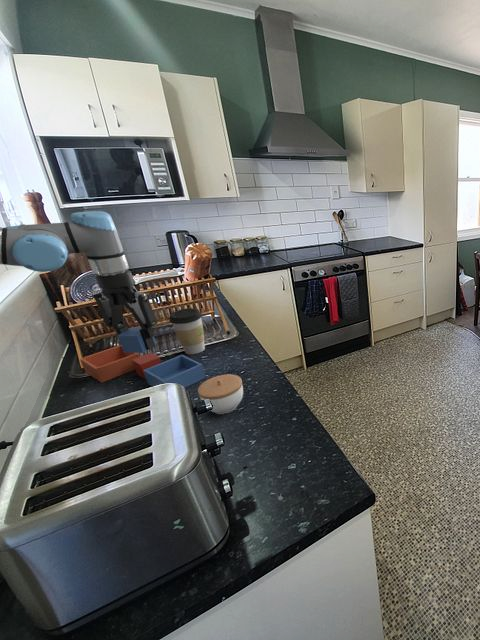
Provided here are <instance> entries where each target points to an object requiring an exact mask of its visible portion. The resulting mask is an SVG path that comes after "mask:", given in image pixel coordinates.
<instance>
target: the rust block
mask: <svg viewBox="0 0 480 640" xmlns="http://www.w3.org/2000/svg"><path fill="white" fill-rule="evenodd" d="M139 356H140V357H138V358H135V359H132V362H133V365H134V368H135V370H134V371H135V373H136V375H138V376H139V377H141V378H142V379H144V380H146V377H145V374H144V372H143V370H146V369H148V368H150V367H153V366H155V365H158V364H160V363H162V360H161V357H160V356H159V355H156V354H155V353H152V352H149V353H146V354H143V355H139Z"/></svg>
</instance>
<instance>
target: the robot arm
mask: <svg viewBox="0 0 480 640" xmlns="http://www.w3.org/2000/svg"><path fill="white" fill-rule="evenodd" d="M70 218H71V219H70V221H65V222H52V223H51V222H50V223H38V224H37V223H36V224H35V223H33V224H23V223H22V224H18V225H11V226H9V225H8V226H5V227H3V226H2V227H1V226H0V265H2V266H3V265H4V266H14V267H22V268H23V267H24V268H25V269H28V270H30V271H33V272H39V273H49V272H53V271H55V270H57V269H58V270H59V269H60V268H61V267H62V266H64V264H65V263H66V261H67V259H68V257H69V255H71V254H81V253H85V255H86V259H87V261H88V264H89V266H90V270H91V271H92V273H93V274H94V280H95V281H96V284H97V286H98V288H99V289H101V291H99V292H96V293H94V294H92V296H91V297H92V298H93V299H94V300H95V303H96V304H97V306H98V309H99V312H100V315H101V318H102V320H103V323H104V325H105V327H107V328H109V327H110V328H112V329H114V331H115V334H116V336H117V337H118V335H120V334H121V333H123V332H125V331H126V330H128V329H129V327H128V325H127V324H126V322H124V309H123V308H124V307H125V308H126V309H127V310H129V312H130V313H131V314H132V316H133V317H134V320H135V321H136V322H137V323H138V325H139V327H141V329H140V333H141V336H142V339H143V341H144V344H145V347H146V350H147V351H149V350H151V349H152V348H154V347H156V344H155V342H154V340H153V336H154V337H155V334H154V331H153V328H152V327H155V325H157V324H158V320H157V317H156V314H155V312H154V310H153V307H152V304H151V301H150V293H149V292H147V291H145V292H142V291H141V292H140V291H138V290H137V288H136V287H135V279H134V277H133V273H132V271H131V270H130V265H129V263H128V260H127V257H126V254H125V252H124V251H125V250H124V248H123V245H122V242H121V239H120V236H119V232H118V230H117V228H116V226H115V225H116V224H115V223H114V220H113V218H112V216H111V214H110V213H108V212H106V211H102V210H90V211H89V210H87V211H78V212H77V211H76V212H73V213H71V214H70ZM123 306H124V307H123Z"/></svg>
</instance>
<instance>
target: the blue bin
mask: <svg viewBox="0 0 480 640" xmlns="http://www.w3.org/2000/svg"><path fill="white" fill-rule="evenodd" d="M143 372H144V374H145V377H146V379H145V380H146V382H147V385H148V386H150V387H152V386H155V385H159V384H164V383H179V384H182V385H183V386H184V387H185V388H187V387H189V386H192V385H194V384H196V383H197V382H200V381H202V380H204V379H206V378H207V377H206V373H205V370H204V366H203V363H200V362H198V361H196V360H194V359H192V358H189V356H186V355H184V354H179V355H178V356H175V357H173V358H170V359H168V360H165V361H162V362H161V363H160V364H158V365H155V366H153V367H150V368H148V369H146V370H143Z"/></svg>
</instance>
